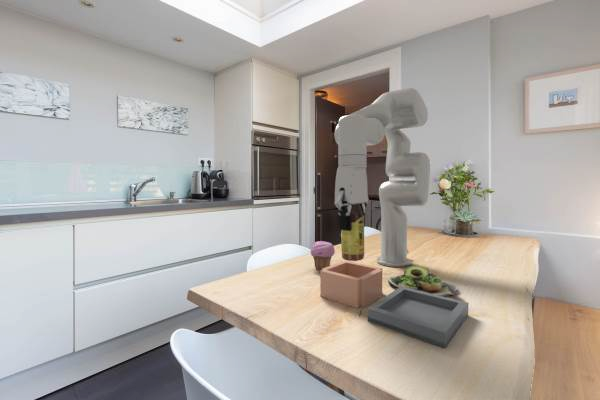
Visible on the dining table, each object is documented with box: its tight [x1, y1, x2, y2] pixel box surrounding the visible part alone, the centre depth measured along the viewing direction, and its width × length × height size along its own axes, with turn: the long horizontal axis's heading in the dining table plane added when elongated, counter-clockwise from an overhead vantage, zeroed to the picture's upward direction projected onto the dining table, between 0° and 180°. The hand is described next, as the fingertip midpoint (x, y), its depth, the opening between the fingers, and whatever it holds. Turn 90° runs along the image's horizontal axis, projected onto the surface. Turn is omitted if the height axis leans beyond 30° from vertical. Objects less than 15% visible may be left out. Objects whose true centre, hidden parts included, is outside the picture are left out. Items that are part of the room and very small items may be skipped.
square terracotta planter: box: [319, 260, 383, 309], centre depth 79 cm, size 13×13×7 cm
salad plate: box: [387, 265, 461, 297], centre depth 84 cm, size 19×18×5 cm
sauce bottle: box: [340, 202, 365, 262], centre depth 79 cm, size 6×6×20 cm
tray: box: [367, 286, 469, 349], centre depth 65 cm, size 18×16×3 cm
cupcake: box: [310, 240, 336, 271], centre depth 103 cm, size 9×9×10 cm
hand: (352, 227), depth 79 cm, fingers closed on sauce bottle, 6 cm apart
